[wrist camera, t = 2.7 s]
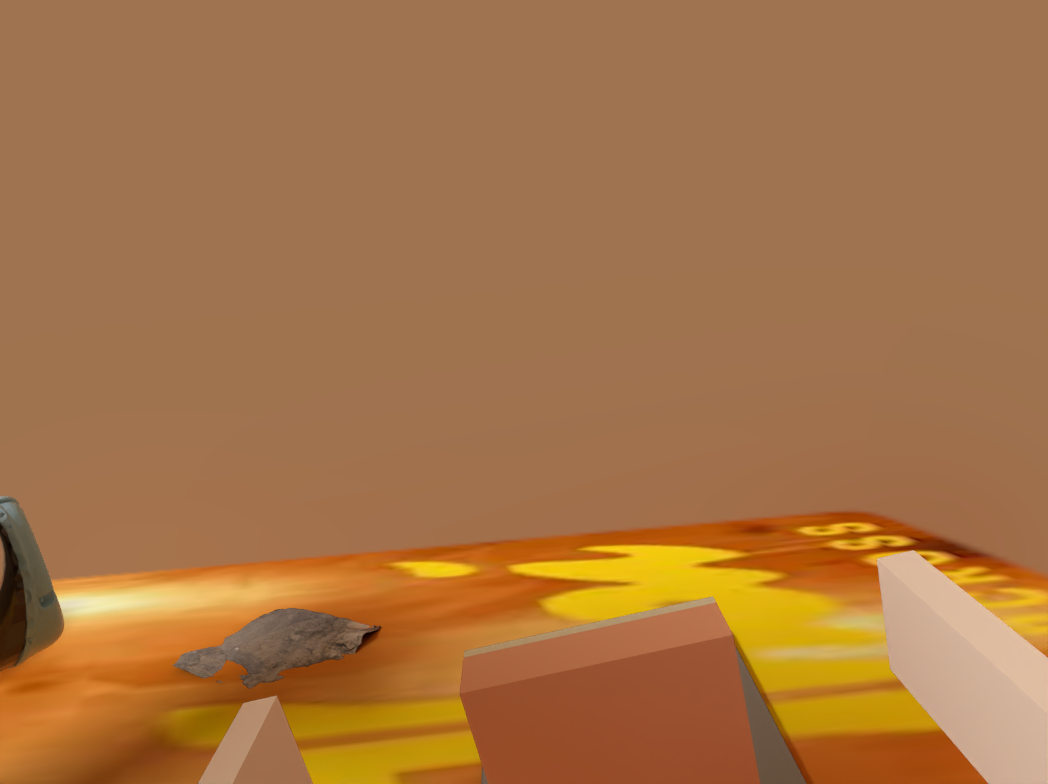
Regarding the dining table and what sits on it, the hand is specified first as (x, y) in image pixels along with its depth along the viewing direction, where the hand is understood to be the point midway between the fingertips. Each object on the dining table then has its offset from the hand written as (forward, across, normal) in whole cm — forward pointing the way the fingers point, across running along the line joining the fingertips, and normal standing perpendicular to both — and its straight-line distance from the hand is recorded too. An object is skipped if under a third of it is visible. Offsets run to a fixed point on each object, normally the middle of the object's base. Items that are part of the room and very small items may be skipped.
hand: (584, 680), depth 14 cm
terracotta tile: (+9, 0, -22) cm, 24 cm away
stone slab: (+40, -30, -23) cm, 55 cm away
